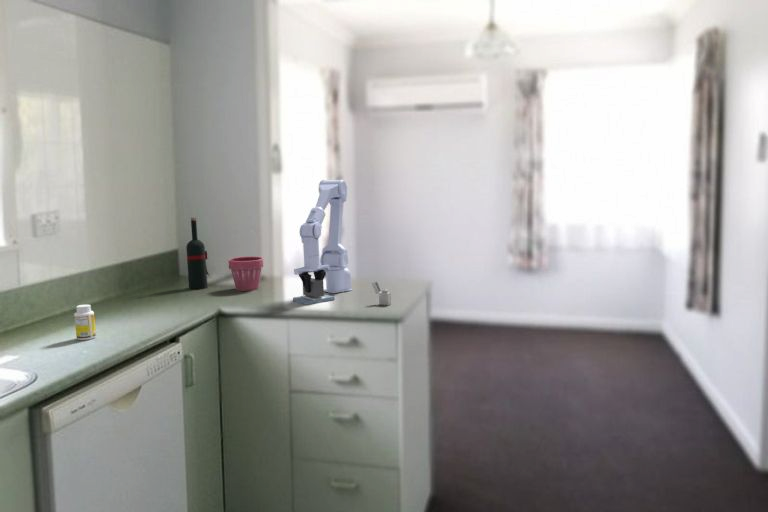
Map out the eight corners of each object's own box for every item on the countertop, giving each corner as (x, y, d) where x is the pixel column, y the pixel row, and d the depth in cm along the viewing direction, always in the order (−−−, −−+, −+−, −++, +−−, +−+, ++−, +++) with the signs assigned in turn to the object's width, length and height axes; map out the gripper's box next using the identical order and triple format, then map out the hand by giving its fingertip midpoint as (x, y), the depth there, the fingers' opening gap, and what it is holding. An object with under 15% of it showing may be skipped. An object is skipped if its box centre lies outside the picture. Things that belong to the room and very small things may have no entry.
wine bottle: (215, 285, 304) (210, 216, 300) (199, 290, 295) (193, 218, 291) (201, 285, 308) (196, 216, 304) (184, 289, 299) (179, 218, 295)
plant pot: (270, 289, 292) (268, 258, 290) (238, 293, 284) (236, 262, 282) (256, 284, 304) (254, 255, 302) (225, 288, 296) (223, 258, 294)
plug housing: (312, 293, 268) (311, 277, 267) (323, 296, 262) (323, 280, 261) (303, 295, 266) (302, 279, 265) (314, 297, 260) (314, 281, 259)
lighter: (391, 304, 252) (390, 282, 251) (388, 305, 250) (387, 283, 249) (375, 302, 256) (374, 280, 255) (372, 303, 254) (371, 281, 253)
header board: (320, 296, 272) (320, 285, 271) (334, 299, 264) (333, 288, 263) (293, 300, 265) (292, 289, 264) (306, 304, 257) (305, 292, 256)
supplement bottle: (90, 335, 220) (87, 303, 219) (99, 337, 217) (96, 305, 215) (73, 339, 216) (70, 306, 215) (82, 341, 212) (79, 308, 211)
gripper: (322, 252, 269) (323, 287, 271) (289, 256, 261) (290, 292, 262) (332, 253, 264) (333, 289, 266) (299, 258, 255) (300, 295, 257)
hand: (313, 291), depth 264 cm, fingers closed on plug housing, 4 cm apart
